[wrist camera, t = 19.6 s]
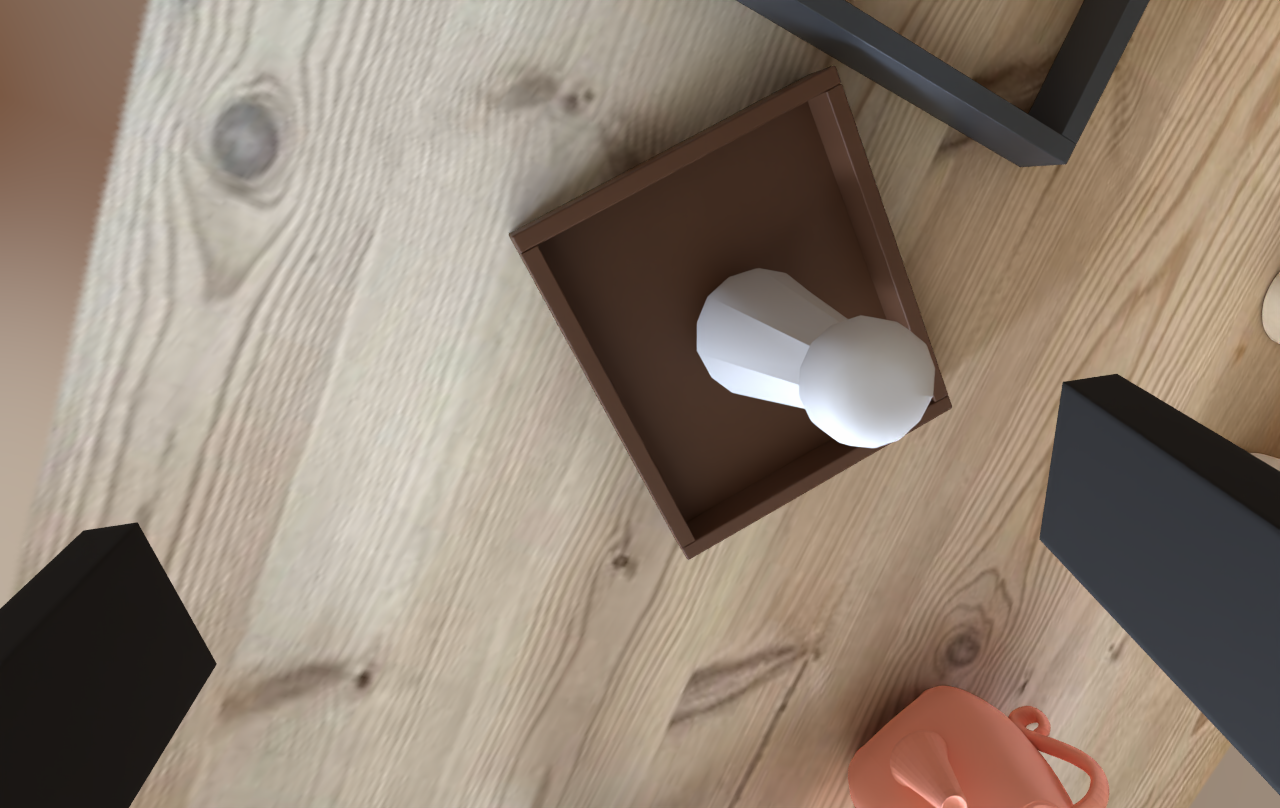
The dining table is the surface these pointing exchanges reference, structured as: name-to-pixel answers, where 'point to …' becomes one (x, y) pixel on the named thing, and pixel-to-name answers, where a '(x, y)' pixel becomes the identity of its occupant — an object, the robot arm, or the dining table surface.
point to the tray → (692, 269)
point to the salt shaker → (815, 358)
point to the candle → (1272, 310)
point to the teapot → (966, 759)
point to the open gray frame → (1040, 138)
